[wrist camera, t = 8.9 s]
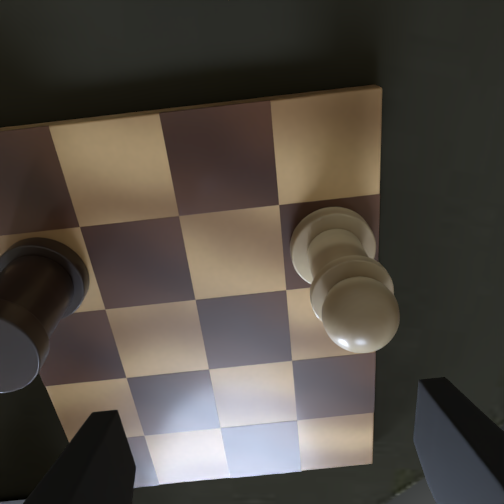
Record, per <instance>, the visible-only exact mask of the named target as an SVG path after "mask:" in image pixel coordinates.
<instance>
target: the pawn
mask: <svg viewBox="0 0 504 504" xmlns="http://www.w3.org/2000/svg"><path fill="white" fill-rule="evenodd" d="M375 253H376V241H375V237H374V234H373V232H372V230H371V228H370V227H369V225H368V224H367V222H366V221H365V220H364V219H363V218H362V217H361V216H360V215H359V214H358V213H356V212H354V211H352V210H350V209H347V208H342V207H327V208H322V209H319V210H317V211H314V212H312V213H311V214H309V215H308V216H306V217H305V218H304V219H303V220H302V221H301V222H300V223H299V224H298V225H297V227H296V228H295V230H294V232H293V234H292V237H291V241H290V254H291V258H292V262H293V266H294V268H295V270H296V271H297V273H298V274H299V275H300V277H301V278H302V279H304V280H305V281H306V282H308V283H310V284H311V287H310V301H311V305H312V308H313V311H314V313H315V314H316V316H317V317H318V318H319V319H320V320H321V321H322V322H323V326H324V328H325V330H326V332H327V334H328V335H329V337H330V338H331V339H332V340H333V341H334V342H335V343H336V344H337V345H338V346H340V347H341V348H343V349H345V350H347V351H351V352H354V353H369V352H373V351H376V350H378V349H381V348H382V347H384V346H385V345H386V344H388V343H389V342H390V341H391V339H392V338H393V337H394V335H395V333H396V331H397V329H398V325H399V320H400V312H399V306H398V303H397V301H396V298H395V297H394V286H393V282H392V279H391V277H390V275H389V274H388V272H387V270H386V269H385V268H384V267H383V266H382V265H381V264H380V263H379V262H377V261H376V260H374V257H375Z"/></svg>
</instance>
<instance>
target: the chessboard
mask: <svg viewBox="0 0 504 504" xmlns="http://www.w3.org/2000/svg"><path fill="white" fill-rule="evenodd" d="M381 122H382V88H381V87H379V86H377V85H375V84H374V85H366V86H357V87H348V88H340V89H331V90H323V91H314V92H305V93H297V94H288V95H279V96H271V97H262V98H253V99H245V100H236V101H227V102H219V103H210V104H201V105H193V106H184V107H175V108H167V109H158V110H150V111H141V112H132V113H124V114H115V115H106V116H98V117H89V118H80V119H72V120H63V121H54V122H46V123H37V124H28V125H20V126H11V127H3V128H0V256H1V255H2V254H3V253H4V252H5V251H6V250H7V249H8V248H9V247H10V246H12V245H13V244H14V243H16V242H18V241H20V240H23V239H27V238H34V237H41V238H48V239H52V240H56V241H58V242H61V243H63V244H65V245H66V246H68V247H69V248H71V249H72V250H73V251H75V252H76V253H77V254H78V255H79V256H80V258H81V259H82V260H83V262H84V263H85V265H86V267H87V270H88V273H89V279H90V283H89V289H88V292H87V294H86V296H85V298H84V300H83V302H82V304H81V305H80V307H79V308H78V309H77V310H76V311H75V312H74V313H73V314H71V315H69V316H68V317H65V318H63V319H61V320H60V321H59V323H58V325H57V327H56V328H55V330H54V332H53V333H52V335H51V337H50V338H49V353H48V356H47V358H46V360H45V362H44V364H43V366H42V367H41V369H40V371H39V374H40V377H41V379H42V381H43V384H44V386H45V387H46V389H47V391H48V394H49V396H50V398H51V401H52V403H53V405H54V408H55V410H56V412H57V415H58V417H59V420H60V422H61V424H62V427H63V429H64V431H65V434H66V436H67V438H68V441H69V443H70V441H71V440H72V438H73V437H74V436H75V434H76V433H77V432H78V430H79V429H80V428H81V426H82V425H83V424H84V422H85V421H86V420H87V418H88V417H89V416H90V414H91V413H92V412H99V411H109V410H118V412H119V416H120V419H121V422H122V425H123V428H124V431H125V434H126V437H127V440H128V443H129V446H130V449H131V452H132V455H133V458H134V462H135V465H136V473H135V482H134V488H136V487H146V486H156V485H160V484H170V483H180V482H190V481H200V480H210V479H221V478H238V477H248V476H258V475H268V474H278V473H288V472H299V471H302V470H312V469H322V468H332V467H343V466H353V465H363V464H372V462H373V424H374V402H375V365H376V352H375V351H373V352H369V353H354V352H351V351H347V350H345V349H343V348H341V347H340V346H338V345H337V344H336V343H335V342H334V341H333V340H332V339H331V338H330V337H329V335H328V334H327V332H326V330H325V328H324V326H323V322H322V321H321V320H320V319H319V318H318V317H317V316H316V314H315V313H314V311H313V308H312V305H311V301H310V287H311V284H310V283H308V282H306V281H305V280H304V279H302V278H301V277H300V275H299V274H298V273H297V271H296V270H295V268H294V266H293V262H292V258H291V254H290V241H291V237H292V234H293V232H294V230H295V228H296V227H297V225H298V224H299V223H300V222H301V221H302V220H303V219H304V218H305V217H306V216H308V215H309V214H311V213H312V212H314V211H317V210H319V209H322V208H327V207H342V208H347V209H350V210H352V211H354V212H356V213H358V214H359V215H360V216H361V217H362V218H363V219H364V220H365V221H366V222H367V224H368V225H369V227H370V228H371V230H372V232H373V234H374V237H375V241H376V253H375V257H374V260H376V261H377V262H378V254H379V217H380V159H381Z"/></svg>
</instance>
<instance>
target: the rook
mask: <svg viewBox="0 0 504 504" xmlns="http://www.w3.org/2000/svg"><path fill="white" fill-rule="evenodd" d="M89 283H90V279H89V273H88V270H87V267H86V265H85V263H84V262H83V260H82V259H81V258H80V256H79V255H78V254H77V253H76V252H75V251H73V250H72V249H71V248H69V247H68V246H66V245H65V244H63V243H61V242H58V241H56V240H52V239H48V238H41V237H34V238H27V239H23V240H20V241H18V242H16V243H14V244H13V245H12V246H10V247H9V248H8V249H7V250H6V251H5V252H4V253H3V254H2V255H1V256H0V393H8V392H13V391H17V390H19V389H22V388H23V387H25V386H27V385H28V384H30V383H31V382H32V381H33V380H34V379H35V378H36V376H37V374H38V373H39V371H40V369H41V367H42V366H43V364H44V362H45V360H46V358H47V356H48V353H49V338H50V337H51V335H52V333H53V332H54V330H55V328H56V327H57V325H58V323H59V321H60V320H61V319H63V318H65V317H68V316H69V315H71V314H73V313H74V312H75V311H76V310H77V309H78V308H79V307H80V305H81V304H82V302H83V300H84V298H85V296H86V294H87V292H88V289H89Z"/></svg>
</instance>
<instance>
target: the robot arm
mask: <svg viewBox="0 0 504 504" xmlns="http://www.w3.org/2000/svg"><path fill="white" fill-rule="evenodd" d="M413 441H414V444H415V447H416V450H417V453H418V456H419V459H420V463H421V466H422V469H423V471H424V474H425V477H426V480H427V483H428V486H429V488H430V490H431V492H432V495H433V497H434V499H435V501H436V503H437V504H504V431H503V430H501V429H500V428H499V427H498V426H497V425H496V424H495V423H494V422H493V421H492V420H490V419H489V418H488V417H487V416H486V415H485V414H484V413H483V412H482V411H481V410H480V409H479V408H477V407H476V406H475V405H474V404H473V403H472V402H471V401H470V400H469V399H468V398H467V397H466V396H465V395H464V394H463V393H461V392H460V391H459V390H458V389H457V388H456V387H455V386H454V385H453V384H452V383H451V382H450V381H449V380H448V379H446V378H445V377H442V378H432V379H422V380H419V384H418V395H417V406H416V416H415V427H414V438H413ZM135 473H136V465H135V462H134V458H133V455H132V452H131V449H130V446H129V443H128V440H127V437H126V434H125V431H124V428H123V425H122V422H121V419H120V416H119V412H118V410H109V411H99V412H92V413H91V414H90V416H89V417H88V418H87V420H86V421H85V422H84V424H83V425H82V426H81V428H80V429H79V430H78V432H77V433H76V434H75V436H74V437H73V438H72V440H71V441H70V443H69V444H68V445H67V447H66V448H65V449H64V451H63V452H62V453H61V455H60V456H59V457H58V459H57V460H56V461H55V463H54V464H53V465H52V467H51V468H50V469H49V471H48V472H47V473H46V474H45V476H44V477H43V478H42V480H41V481H40V482H39V483H38V485H37V486H36V487H35V489H34V490H33V491H32V492H31V494H30V495H29V496H28V498H27V499H24V500H14V501H4V502H0V504H132V497H133V490H134V482H135Z"/></svg>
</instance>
